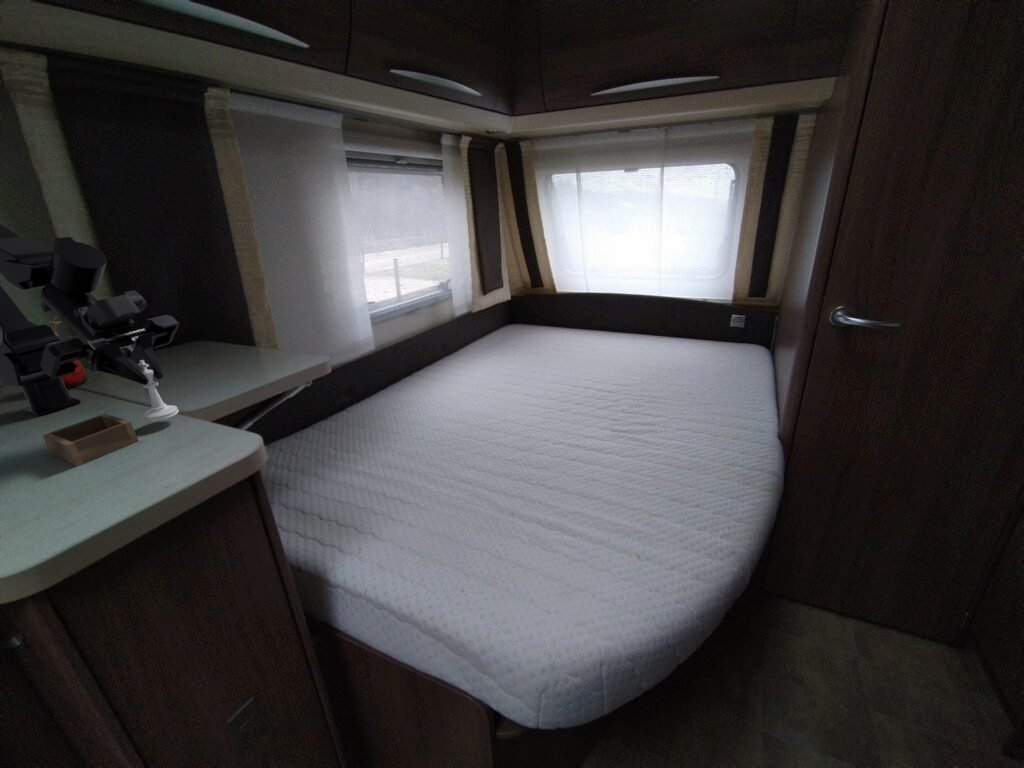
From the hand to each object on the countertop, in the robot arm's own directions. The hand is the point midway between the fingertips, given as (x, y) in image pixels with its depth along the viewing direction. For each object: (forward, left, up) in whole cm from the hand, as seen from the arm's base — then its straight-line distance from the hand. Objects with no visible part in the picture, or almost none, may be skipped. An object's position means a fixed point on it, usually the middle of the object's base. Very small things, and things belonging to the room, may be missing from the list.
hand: (154, 380), depth 74 cm
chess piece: (-1, 0, -7) cm, 7 cm away
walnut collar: (-3, -10, -8) cm, 13 cm away
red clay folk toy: (-43, +2, -8) cm, 44 cm away
